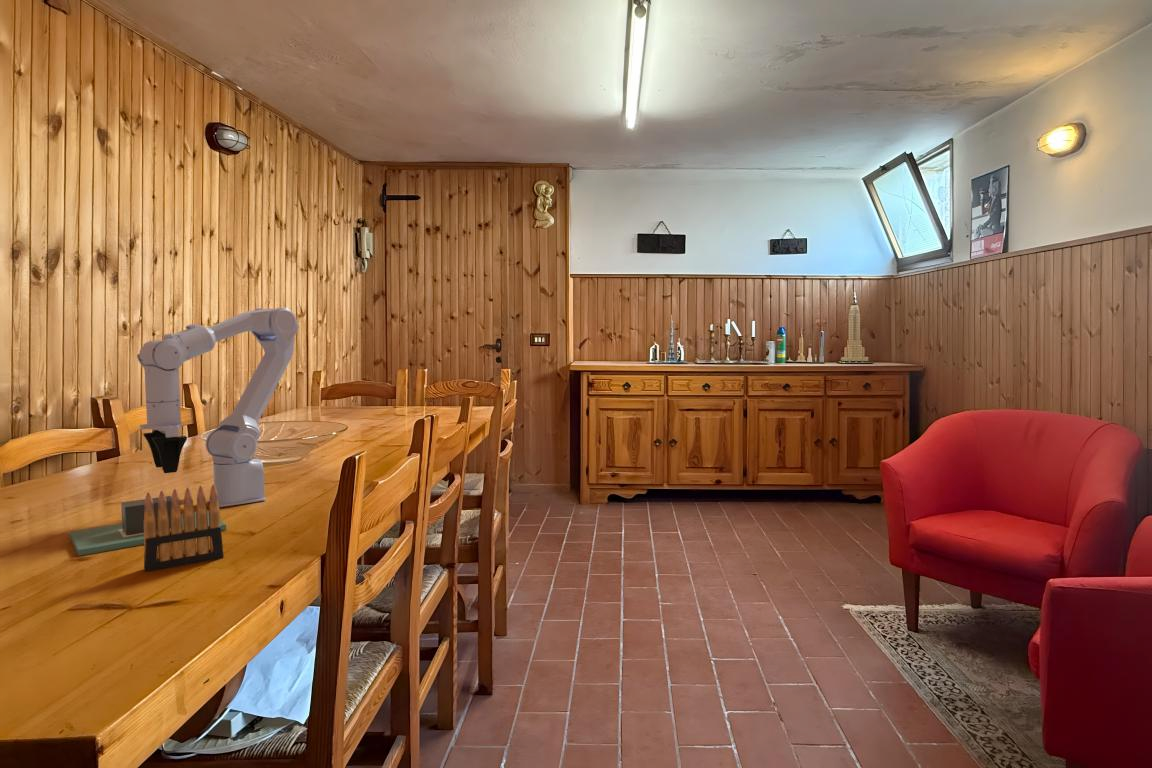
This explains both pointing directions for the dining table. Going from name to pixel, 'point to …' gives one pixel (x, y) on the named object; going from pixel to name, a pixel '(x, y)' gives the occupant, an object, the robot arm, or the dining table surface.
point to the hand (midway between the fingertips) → (166, 469)
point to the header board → (109, 538)
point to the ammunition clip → (181, 531)
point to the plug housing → (140, 514)
